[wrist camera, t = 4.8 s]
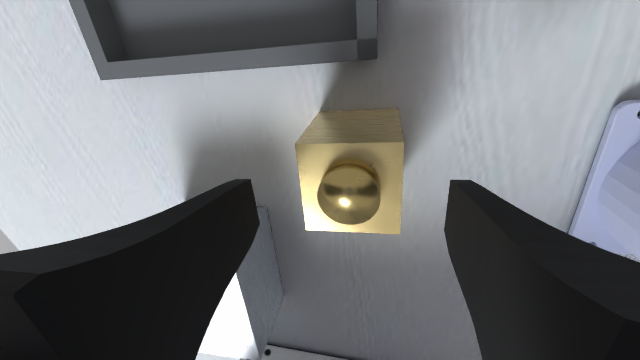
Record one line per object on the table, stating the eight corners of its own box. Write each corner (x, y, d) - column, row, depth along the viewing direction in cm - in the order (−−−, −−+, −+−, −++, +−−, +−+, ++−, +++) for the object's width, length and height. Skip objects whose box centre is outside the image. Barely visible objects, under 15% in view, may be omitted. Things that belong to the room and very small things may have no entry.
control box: (266, 207, 19) (226, 269, 14) (284, 296, 22) (256, 371, 18) (181, 205, 20) (117, 261, 15) (210, 289, 24) (166, 357, 19)
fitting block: (397, 108, 15) (405, 148, 10) (395, 179, 16) (401, 243, 12) (319, 111, 15) (290, 149, 11) (325, 178, 17) (302, 238, 12)
